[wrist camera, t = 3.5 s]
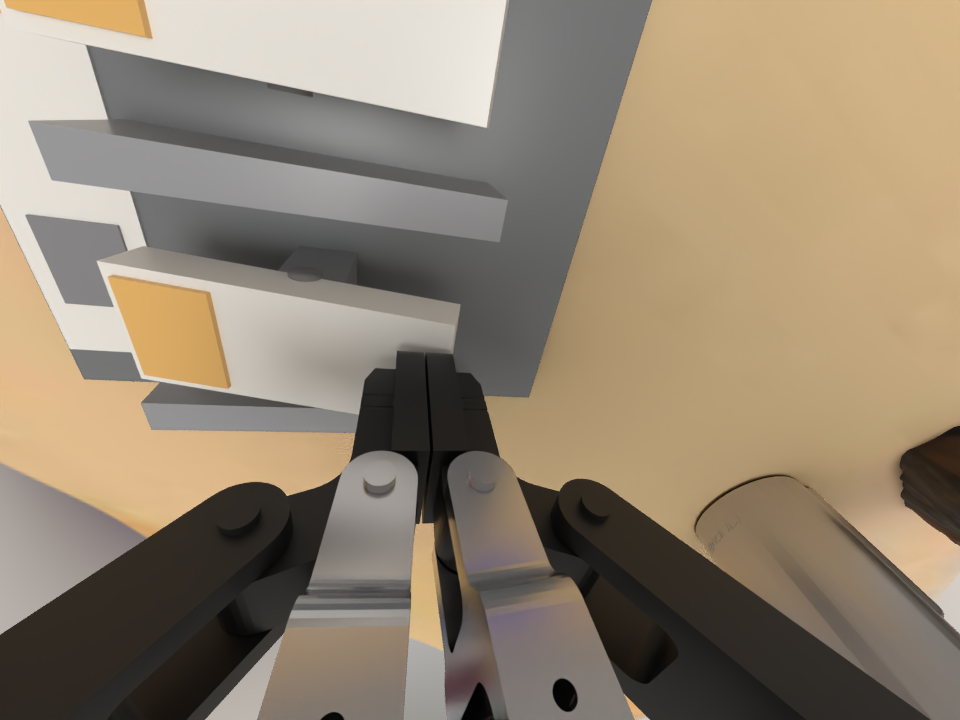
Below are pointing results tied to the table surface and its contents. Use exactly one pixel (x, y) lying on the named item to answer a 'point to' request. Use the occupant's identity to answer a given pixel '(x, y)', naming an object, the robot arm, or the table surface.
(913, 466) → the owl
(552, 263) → the switch unit
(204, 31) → the rocker middle
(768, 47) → the table surface
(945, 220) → the table surface
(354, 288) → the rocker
